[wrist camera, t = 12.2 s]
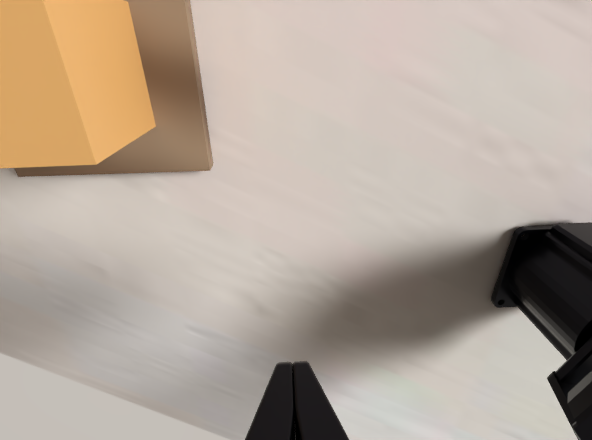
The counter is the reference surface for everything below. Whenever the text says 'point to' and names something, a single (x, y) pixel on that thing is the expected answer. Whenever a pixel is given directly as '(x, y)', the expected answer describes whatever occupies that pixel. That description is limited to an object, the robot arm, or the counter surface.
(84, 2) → the tan wooden cube
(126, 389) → the counter surface
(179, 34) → the walnut base
